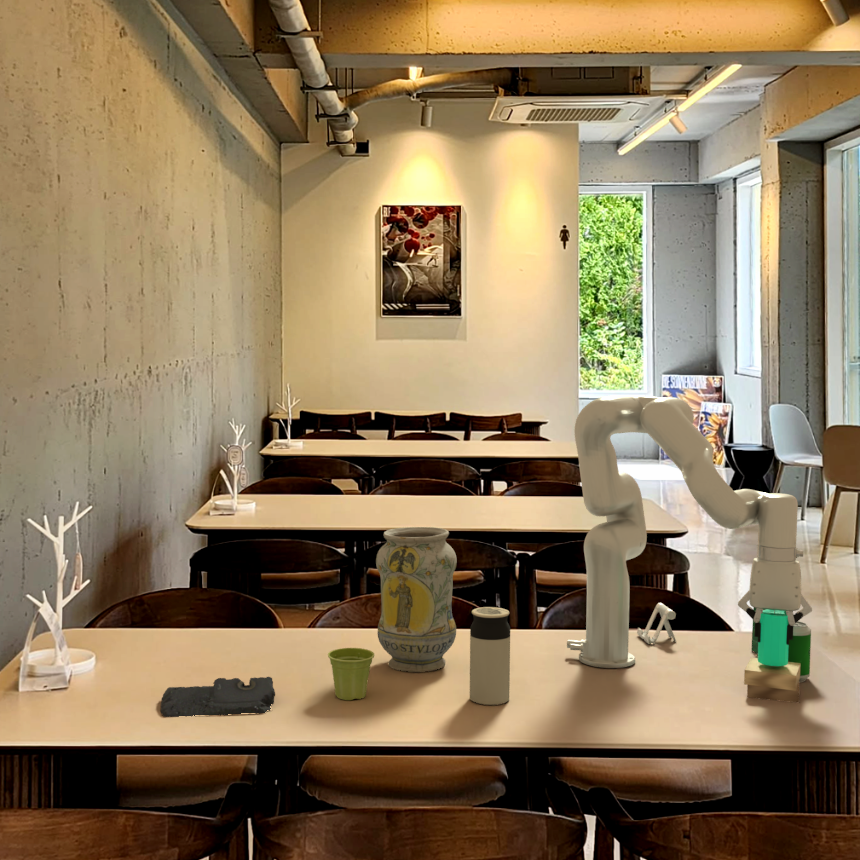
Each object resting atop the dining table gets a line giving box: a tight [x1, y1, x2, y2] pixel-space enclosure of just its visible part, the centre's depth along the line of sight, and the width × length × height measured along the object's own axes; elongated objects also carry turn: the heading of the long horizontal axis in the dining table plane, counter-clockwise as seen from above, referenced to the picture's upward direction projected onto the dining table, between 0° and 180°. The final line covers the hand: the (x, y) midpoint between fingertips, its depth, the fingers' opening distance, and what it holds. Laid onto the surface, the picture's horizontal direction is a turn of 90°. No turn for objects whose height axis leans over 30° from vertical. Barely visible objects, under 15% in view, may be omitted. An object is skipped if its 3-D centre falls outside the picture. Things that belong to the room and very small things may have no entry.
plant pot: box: [327, 647, 375, 701], centre depth 220 cm, size 9×9×9 cm
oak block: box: [743, 657, 800, 691], centre depth 225 cm, size 10×10×3 cm
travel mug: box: [469, 606, 511, 706], centre depth 218 cm, size 8×8×18 cm
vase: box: [375, 526, 458, 673], centre depth 243 cm, size 18×18×30 cm
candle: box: [757, 609, 789, 666], centre depth 224 cm, size 6×6×12 cm
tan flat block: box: [746, 682, 800, 703], centre depth 225 cm, size 10×10×3 cm
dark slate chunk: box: [160, 676, 276, 718], centre depth 215 cm, size 15×22×5 cm
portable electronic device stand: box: [636, 602, 677, 645], centre depth 266 cm, size 9×8×8 cm
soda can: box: [788, 620, 812, 683], centre depth 235 cm, size 8×8×12 cm
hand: (773, 640), depth 225 cm, fingers closed on candle, 4 cm apart
